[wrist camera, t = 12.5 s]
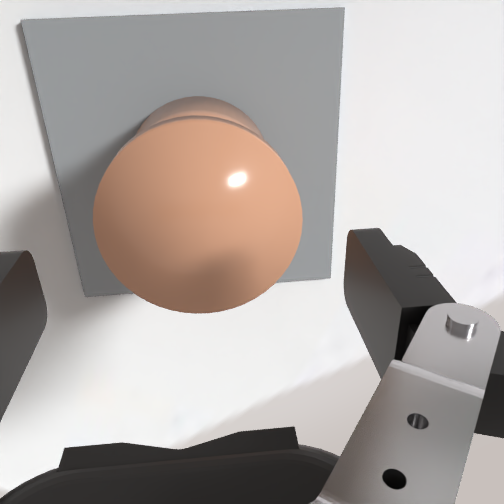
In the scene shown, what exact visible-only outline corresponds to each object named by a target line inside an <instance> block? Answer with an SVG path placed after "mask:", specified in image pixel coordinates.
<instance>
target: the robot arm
mask: <svg viewBox="0 0 504 504" xmlns="http://www.w3.org/2000/svg"><path fill="white" fill-rule="evenodd" d="M344 295H345V300H346V304H347V306H348V308H349V311H350V313H351V315H352V317H353V319H354V321H355V324H356V326H357V328H358V330H359V332H360V334H361V337H362V339H363V341H364V343H365V345H366V347H367V349H368V352H369V354H370V356H371V358H372V360H373V362H374V365H375V367H376V369H377V371H378V373H379V375H380V378H381V381H380V383H379V385H378V387H377V389H376V391H375V393H374V394H373V396H372V398H371V400H370V402H369V404H368V406H367V407H366V410H365V411H364V413H363V415H362V417H361V419H360V420H359V422H358V424H357V426H356V428H355V430H354V432H353V433H352V435H351V437H350V439H349V441H348V443H347V445H346V446H345V448H344V450H343V452H342V454H341V456H340V457H339V456H337V455H335V454H333V453H330V452H328V451H324V450H322V449H319V448H314V447H310V446H306V445H299V444H298V441H297V436H296V431H295V427H285V428H274V429H263V430H253V431H243V432H242V431H241V432H237V433H234V434H230V435H227V436H225V437H221V438H218V439H214V440H211V441H208V442H205V443H202V444H199V445H195V446H192V447H189V448H185V449H179V450H178V449H168V448H161V447H153V446H145V445H138V444H130V443H112V444H101V445H90V446H79V447H69V448H64V451H63V455H62V458H61V461H60V464H59V468H56V469H53V470H50V471H48V472H45V473H43V474H41V475H38V476H36V477H34V478H32V479H30V480H28V481H26V482H24V483H23V484H21V485H19V486H18V487H16V488H15V489H13V490H11V491H10V492H8V493H7V494H6V495H4V496H3V497H2V498H0V504H455V500H456V496H457V493H458V489H459V486H460V482H461V478H462V474H463V471H464V467H465V463H466V460H467V456H468V452H469V449H470V444H471V441H472V437H473V433H477V434H482V435H488V436H494V437H500V438H504V332H503V331H501V330H500V326H499V324H498V323H497V321H496V320H495V319H494V318H493V317H492V316H490V315H489V314H487V313H486V312H484V311H482V310H480V309H478V308H475V307H472V306H469V305H465V304H459V303H456V302H455V300H454V299H453V298H452V297H451V296H450V294H449V293H448V292H447V291H446V290H445V288H444V287H443V286H442V285H441V283H440V282H439V281H438V280H437V279H436V277H433V274H432V272H431V271H430V270H429V269H428V268H426V265H425V264H424V263H423V262H422V260H421V259H420V258H419V257H418V255H417V254H415V253H414V252H412V251H410V250H408V249H407V248H405V247H403V246H401V245H394V246H393V245H392V244H391V242H390V241H389V240H388V239H387V237H386V236H385V235H384V233H383V232H382V231H381V229H379V228H371V229H356V230H350V231H349V233H348V236H347V246H346V259H345V272H344ZM46 321H47V307H46V302H45V298H44V295H43V291H42V288H41V284H40V281H39V277H38V274H37V270H36V266H35V263H34V260H33V257H32V255H31V253H30V252H29V251H11V252H0V421H1V419H2V417H3V415H4V413H5V411H6V409H7V406H8V404H9V402H10V400H11V398H12V396H13V394H14V392H15V390H16V387H17V385H18V383H19V381H20V379H21V377H22V375H23V373H24V371H25V369H26V366H27V364H28V362H29V360H30V358H31V356H32V354H33V352H34V350H35V347H36V345H37V343H38V341H39V339H40V337H41V335H42V333H43V331H44V328H45V326H46Z"/></svg>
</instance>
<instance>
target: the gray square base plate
mask: <svg viewBox="0 0 504 504" xmlns="http://www.w3.org/2000/svg"><path fill="white" fill-rule="evenodd" d="M344 10H345V8H317V9H290V10H264V11H237V12H211V13H185V14H158V15H132V16H106V17H79V18H53V19H26V20H21V23H22V28H23V32H24V36H25V41H26V45H27V49H28V54H29V58H30V62H31V66H32V71H33V75H34V79H35V84H36V88H37V92H38V97H39V101H40V105H41V109H42V114H43V118H44V122H45V127H46V131H47V135H48V140H49V144H50V148H51V152H52V157H53V161H54V165H55V170H56V174H57V178H58V183H59V187H60V191H61V195H62V200H63V204H64V208H65V213H66V217H67V221H68V225H69V230H70V234H71V238H72V243H73V247H74V251H75V256H76V260H77V264H78V268H79V273H80V277H81V281H82V286H83V290H84V294H85V297H91V296H104V295H117V294H130V293H133V292H132V291H130V290H129V289H128V288H126V287H125V286H124V285H123V284H122V283H121V282H120V281H119V280H118V279H117V278H116V276H115V275H114V274H113V273H112V272H111V270H110V269H109V267H108V266H107V264H106V262H105V261H104V259H103V257H102V255H101V253H100V250H99V248H98V245H97V242H96V238H95V234H94V227H93V207H94V201H95V196H96V193H97V189H98V186H99V184H100V182H101V180H102V178H103V176H104V174H105V172H106V170H107V168H108V166H109V165H110V163H111V161H112V160H113V158H114V157H115V155H116V154H117V153H118V151H119V150H120V149H121V148H122V147H123V146H124V145H125V144H126V143H127V142H128V141H129V140H130V139H131V138H133V137H134V136H135V135H136V133H137V131H138V129H139V128H140V126H141V125H142V123H143V122H144V121H145V120H146V119H147V117H148V116H149V115H150V114H151V113H153V112H154V111H155V110H157V109H158V108H159V107H161V106H163V105H165V104H166V103H169V102H171V101H173V100H176V99H180V98H184V97H192V96H205V97H212V98H216V99H220V100H223V101H225V102H228V103H230V104H232V105H234V106H235V107H237V108H239V109H240V110H241V111H243V112H244V113H245V114H246V115H248V116H249V117H250V119H251V120H252V121H253V122H254V123H255V124H256V126H257V127H258V128H259V130H260V132H261V134H262V135H263V137H264V139H265V141H267V142H268V143H269V144H270V145H271V146H272V147H273V149H274V150H275V151H276V152H277V153H278V154H279V156H280V157H281V159H282V160H283V161H284V163H285V165H286V167H287V169H288V171H289V173H290V174H291V176H292V178H293V180H294V182H295V184H296V187H297V190H298V193H299V196H300V201H301V206H302V218H303V222H302V233H301V237H300V242H299V245H298V248H297V251H296V253H295V256H294V258H293V259H292V261H291V263H290V265H289V267H288V268H287V269H286V271H285V272H284V274H283V275H282V276H281V277H280V278H279V279H278V280H277V282H287V281H300V280H313V279H326V278H331V260H332V241H333V222H334V202H335V183H336V164H337V145H338V126H339V106H340V87H341V68H342V49H343V30H344Z"/></svg>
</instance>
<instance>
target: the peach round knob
mask: <svg viewBox="0 0 504 504" xmlns="http://www.w3.org/2000/svg"><path fill="white" fill-rule="evenodd" d="M302 222H303V218H302V206H301V201H300V196H299V193H298V190H297V187H296V184H295V182H294V180H293V178H292V176H291V174H290V173H289V171H288V169H287V167H286V165H285V163H284V161H283V160H282V159H281V157H280V156H279V154H278V153H277V152H276V151H275V150H274V149H273V147H272V146H271V145H270V144H269V143H268V142H267V141H265V139H264V137H263V135H262V134H261V132H260V130H259V128H258V127H257V126H256V124H255V123H254V122H253V121H252V120H251V119H250V117H249V116H248V115H246V114H245V113H244V112H243V111H241V110H240V109H239V108H237V107H235V106H234V105H232V104H230V103H228V102H225V101H223V100H220V99H216V98H212V97H205V96H192V97H184V98H180V99H176V100H173V101H171V102H169V103H166V104H165V105H163V106H161V107H159V108H158V109H157V110H155V111H154V112H153V113H151V114H150V115H149V116H148V117H147V119H146V120H145V121H144V122H143V123H142V125H141V126H140V128H139V129H138V131H137V133H136V135H135V136H134V137H133V138H131V139H130V140H129V141H128V142H127V143H126V144H125V145H124V146H123V147H122V148H121V149H120V150H119V151H118V153H117V154H116V155H115V157H114V158H113V160H112V161H111V163H110V165H109V166H108V168H107V170H106V172H105V174H104V176H103V178H102V180H101V182H100V184H99V186H98V189H97V193H96V196H95V201H94V207H93V227H94V234H95V238H96V242H97V245H98V248H99V250H100V253H101V255H102V257H103V259H104V261H105V262H106V264H107V266H108V267H109V269H110V270H111V272H112V273H113V274H114V275H115V276H116V278H117V279H118V280H119V281H120V282H121V283H122V284H123V285H124V286H125V287H126V288H128V289H129V290H130V291H132V292H133V293H134V294H136V295H137V296H139V297H141V298H142V299H144V300H146V301H148V302H150V303H152V304H155V305H157V306H159V307H163V308H166V309H169V310H173V311H178V312H184V313H212V312H220V311H224V310H228V309H232V308H235V307H238V306H240V305H243V304H245V303H247V302H249V301H251V300H253V299H255V298H256V297H258V296H260V295H261V294H263V293H264V292H265V291H267V290H268V289H269V288H270V287H271V286H273V285H274V284H275V283H276V282H277V280H278V279H279V278H280V277H281V276H282V275H283V274H284V272H285V271H286V269H287V268H288V267H289V265H290V263H291V261H292V259H293V258H294V256H295V253H296V251H297V248H298V245H299V242H300V237H301V233H302Z"/></svg>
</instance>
